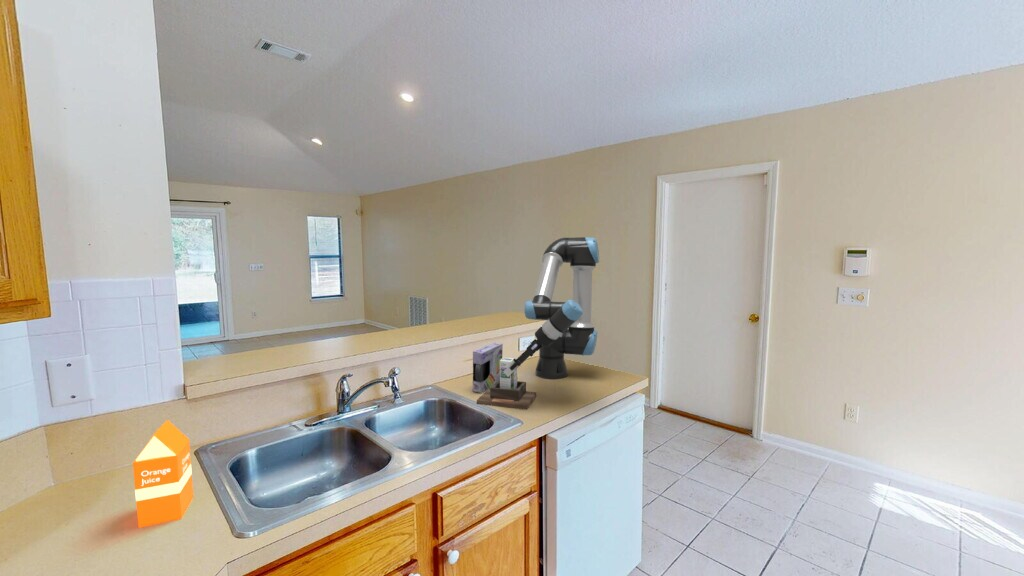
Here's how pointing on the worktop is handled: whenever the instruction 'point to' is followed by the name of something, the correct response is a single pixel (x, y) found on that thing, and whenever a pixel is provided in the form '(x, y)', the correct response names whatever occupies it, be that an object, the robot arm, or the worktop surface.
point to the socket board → (508, 396)
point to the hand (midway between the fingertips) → (511, 369)
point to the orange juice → (163, 477)
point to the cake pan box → (486, 366)
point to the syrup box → (504, 380)
